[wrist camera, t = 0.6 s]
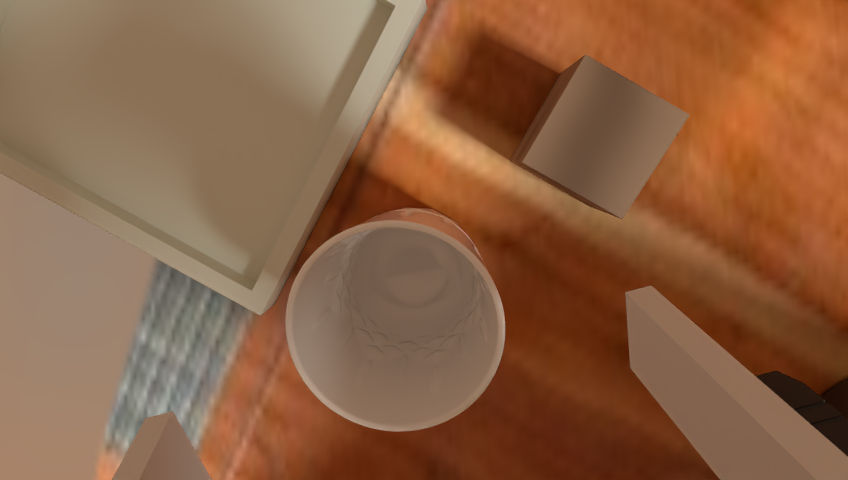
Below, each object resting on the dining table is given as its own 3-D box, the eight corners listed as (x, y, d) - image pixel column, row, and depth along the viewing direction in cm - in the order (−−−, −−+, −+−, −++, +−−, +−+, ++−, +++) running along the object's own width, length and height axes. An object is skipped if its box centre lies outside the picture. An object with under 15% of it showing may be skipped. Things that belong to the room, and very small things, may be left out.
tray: (427, 8, 25) (424, -4, 23) (274, 304, 28) (260, 315, 26) (74, -195, 24) (40, -225, 22) (-40, 131, 28) (-78, 130, 26)
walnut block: (644, 122, 25) (689, 114, 20) (591, 206, 26) (622, 218, 21) (560, 73, 25) (585, 54, 20) (509, 160, 26) (522, 162, 21)
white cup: (332, 209, 27) (262, 241, 17) (475, 183, 26) (485, 202, 16) (361, 343, 28) (311, 445, 18) (498, 323, 28) (521, 417, 18)
